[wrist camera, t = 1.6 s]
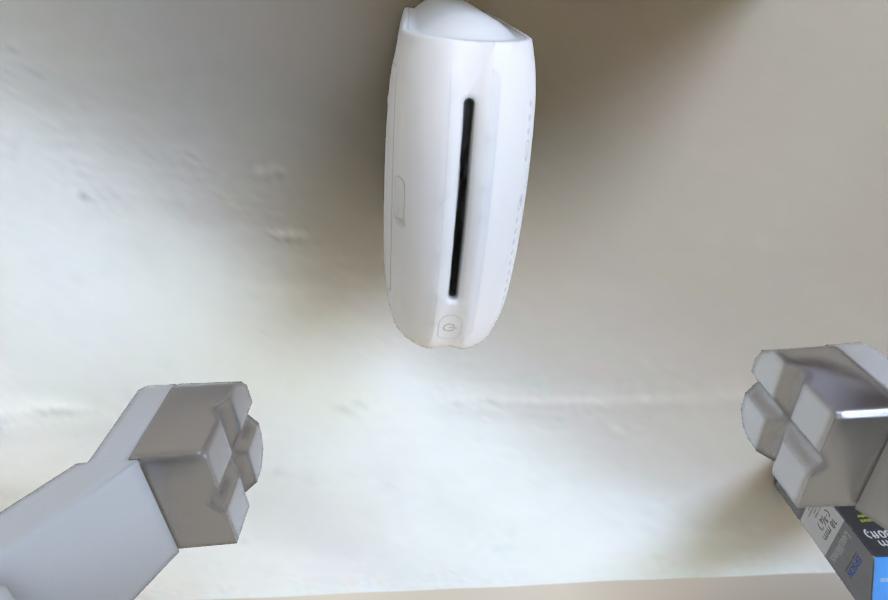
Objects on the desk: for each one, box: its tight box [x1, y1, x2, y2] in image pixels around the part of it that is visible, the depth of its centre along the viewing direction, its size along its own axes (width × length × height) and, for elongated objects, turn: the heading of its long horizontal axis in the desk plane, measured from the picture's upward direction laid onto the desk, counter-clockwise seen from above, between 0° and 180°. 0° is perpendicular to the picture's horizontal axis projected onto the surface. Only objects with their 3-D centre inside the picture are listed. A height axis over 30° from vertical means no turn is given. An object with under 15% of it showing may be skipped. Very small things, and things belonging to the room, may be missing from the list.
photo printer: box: [384, 0, 536, 349], centre depth 20 cm, size 10×4×12 cm, turn 176°
